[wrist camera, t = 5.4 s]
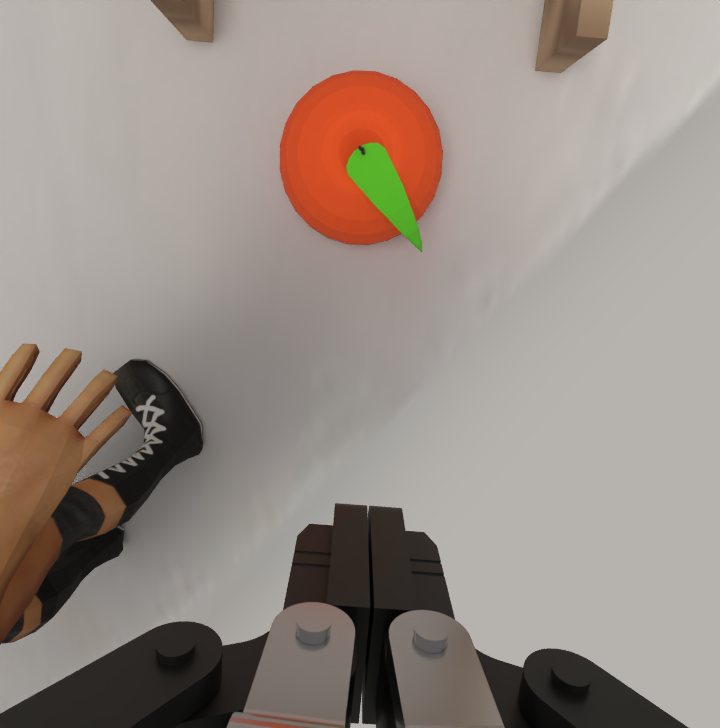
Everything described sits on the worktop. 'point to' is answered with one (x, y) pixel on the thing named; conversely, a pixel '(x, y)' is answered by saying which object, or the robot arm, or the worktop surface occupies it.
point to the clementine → (361, 158)
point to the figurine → (60, 466)
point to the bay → (556, 46)
